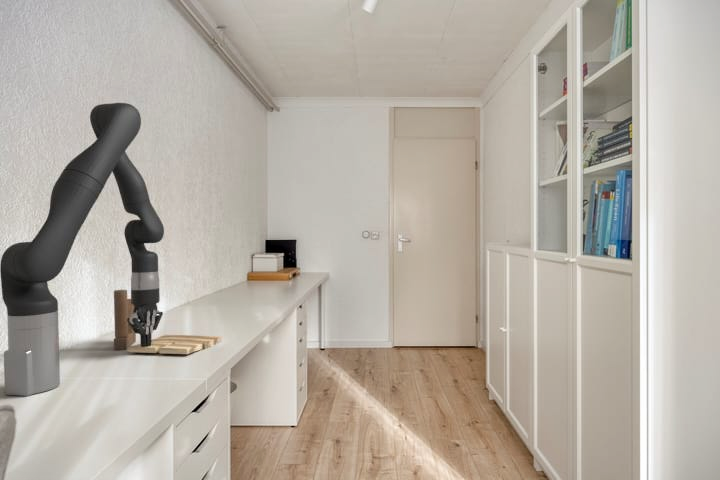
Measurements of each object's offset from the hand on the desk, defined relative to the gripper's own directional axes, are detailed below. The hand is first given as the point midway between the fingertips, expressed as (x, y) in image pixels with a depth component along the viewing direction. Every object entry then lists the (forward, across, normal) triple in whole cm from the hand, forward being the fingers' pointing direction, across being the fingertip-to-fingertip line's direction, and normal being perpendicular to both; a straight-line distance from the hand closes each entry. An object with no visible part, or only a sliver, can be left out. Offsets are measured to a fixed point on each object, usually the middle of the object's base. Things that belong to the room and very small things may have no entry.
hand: (146, 346), depth 129 cm
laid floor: (+2, +12, -5) cm, 13 cm away
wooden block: (+2, +7, +13) cm, 15 cm away
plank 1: (+2, +2, 0) cm, 3 cm away
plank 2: (+2, +2, -10) cm, 10 cm away
